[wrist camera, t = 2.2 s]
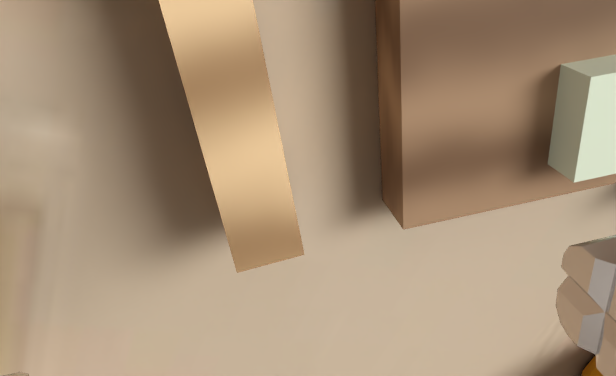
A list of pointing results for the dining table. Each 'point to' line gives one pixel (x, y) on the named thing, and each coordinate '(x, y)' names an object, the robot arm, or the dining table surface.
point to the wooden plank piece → (236, 125)
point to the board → (477, 100)
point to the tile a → (585, 120)
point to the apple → (591, 369)
